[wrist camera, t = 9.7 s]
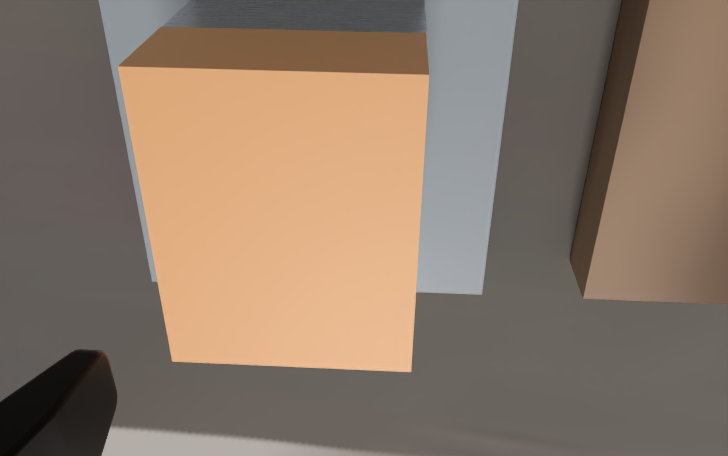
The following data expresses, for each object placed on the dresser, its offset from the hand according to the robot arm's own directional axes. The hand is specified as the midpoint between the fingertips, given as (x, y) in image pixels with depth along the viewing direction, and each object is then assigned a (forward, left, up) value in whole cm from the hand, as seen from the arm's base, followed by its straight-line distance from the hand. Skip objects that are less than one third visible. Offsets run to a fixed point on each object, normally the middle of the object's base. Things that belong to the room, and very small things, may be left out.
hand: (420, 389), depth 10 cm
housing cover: (+3, +1, -7) cm, 8 cm away
